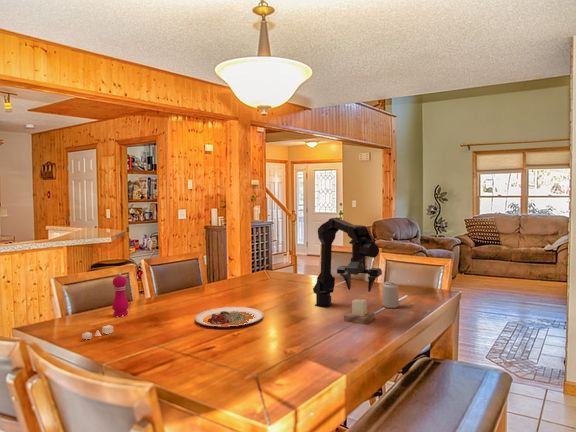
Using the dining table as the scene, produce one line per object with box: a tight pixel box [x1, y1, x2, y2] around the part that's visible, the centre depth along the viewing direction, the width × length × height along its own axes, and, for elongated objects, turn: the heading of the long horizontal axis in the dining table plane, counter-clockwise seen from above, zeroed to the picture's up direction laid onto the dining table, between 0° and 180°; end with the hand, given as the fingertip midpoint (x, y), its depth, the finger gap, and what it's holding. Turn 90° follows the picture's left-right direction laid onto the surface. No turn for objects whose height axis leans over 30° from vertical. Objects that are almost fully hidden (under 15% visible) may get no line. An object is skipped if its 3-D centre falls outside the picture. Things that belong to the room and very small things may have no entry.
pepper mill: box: [111, 272, 130, 317], centre depth 209 cm, size 7×7×20 cm
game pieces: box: [81, 324, 114, 341], centre depth 179 cm, size 12×3×3 cm, turn 143°
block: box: [351, 298, 368, 316], centre depth 196 cm, size 5×5×6 cm
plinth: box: [343, 310, 375, 325], centre depth 196 cm, size 10×10×3 cm
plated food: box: [194, 306, 264, 328], centre depth 201 cm, size 30×30×3 cm
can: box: [382, 280, 400, 309], centre depth 216 cm, size 8×8×12 cm
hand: (359, 290), depth 196 cm, fingers open, 9 cm apart
